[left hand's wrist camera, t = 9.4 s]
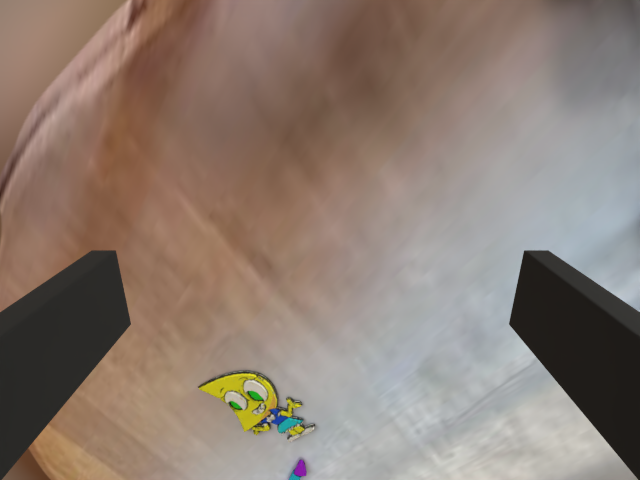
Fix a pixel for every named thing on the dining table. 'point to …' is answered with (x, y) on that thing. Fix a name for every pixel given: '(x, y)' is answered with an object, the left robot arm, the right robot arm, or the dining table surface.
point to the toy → (256, 403)
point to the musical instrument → (298, 471)
